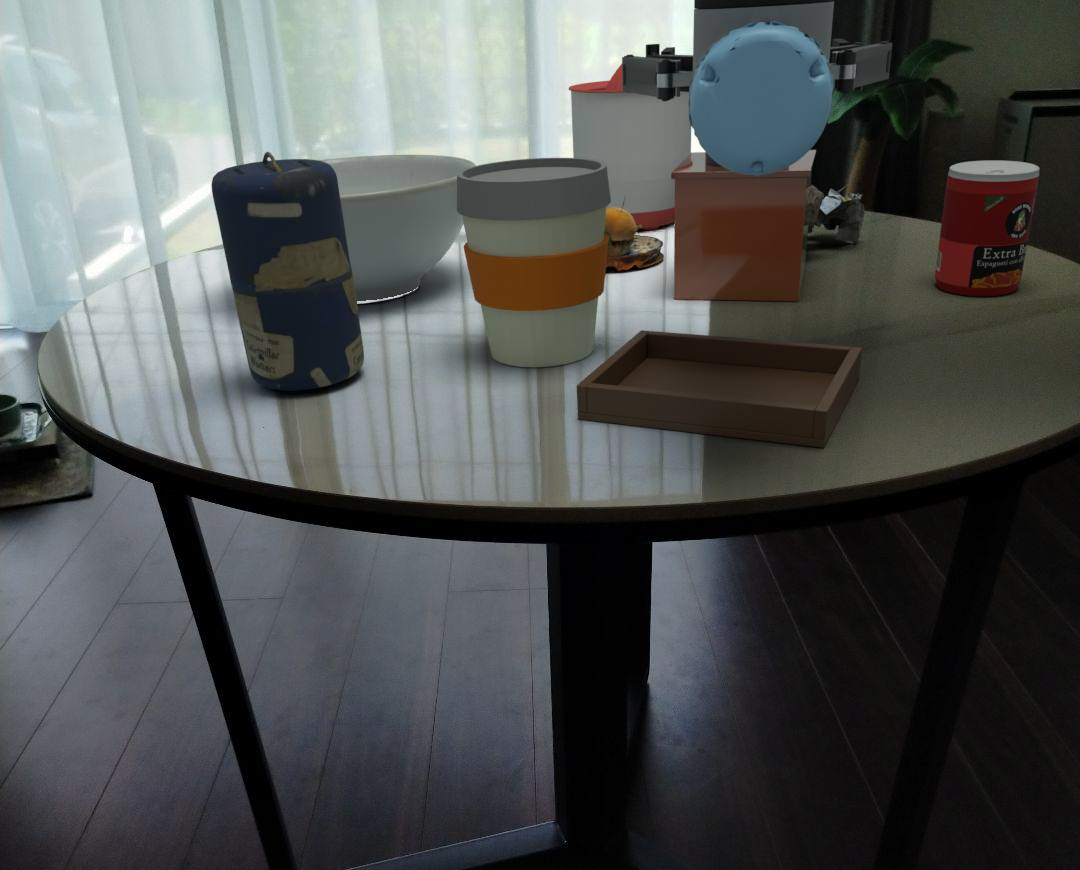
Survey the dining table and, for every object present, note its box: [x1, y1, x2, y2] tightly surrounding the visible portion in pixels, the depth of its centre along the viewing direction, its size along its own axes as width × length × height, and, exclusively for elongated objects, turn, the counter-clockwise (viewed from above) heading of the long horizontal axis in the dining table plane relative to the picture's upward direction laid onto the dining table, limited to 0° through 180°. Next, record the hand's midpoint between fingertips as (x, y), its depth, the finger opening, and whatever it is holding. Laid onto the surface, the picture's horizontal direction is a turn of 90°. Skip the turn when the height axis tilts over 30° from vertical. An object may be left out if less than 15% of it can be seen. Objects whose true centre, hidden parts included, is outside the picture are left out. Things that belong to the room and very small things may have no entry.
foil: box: [807, 182, 865, 245], centre depth 112 cm, size 12×11×15 cm
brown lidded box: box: [671, 149, 817, 302], centre depth 99 cm, size 13×13×12 cm
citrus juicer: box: [568, 63, 692, 231], centre depth 128 cm, size 16×17×20 cm
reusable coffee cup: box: [457, 157, 611, 368], centre depth 83 cm, size 13×12×15 cm
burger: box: [604, 198, 665, 272], centre depth 112 cm, size 12×12×8 cm
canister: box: [211, 151, 365, 392], centre depth 79 cm, size 10×10×18 cm
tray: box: [576, 329, 863, 449], centre depth 73 cm, size 18×14×3 cm
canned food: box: [934, 159, 1040, 297], centre depth 94 cm, size 8×8×11 cm
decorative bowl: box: [318, 154, 477, 301], centre depth 106 cm, size 27×27×12 cm
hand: (751, 61), depth 83 cm, fingers open, 13 cm apart
